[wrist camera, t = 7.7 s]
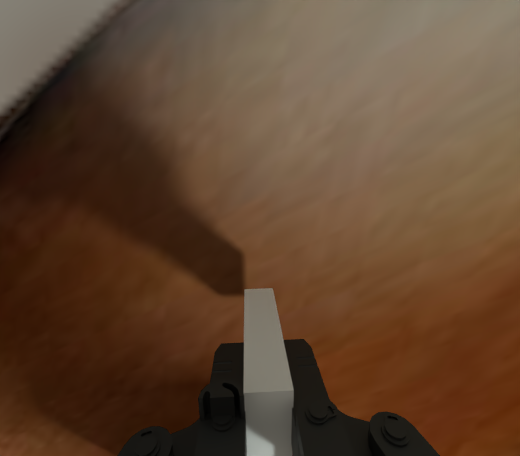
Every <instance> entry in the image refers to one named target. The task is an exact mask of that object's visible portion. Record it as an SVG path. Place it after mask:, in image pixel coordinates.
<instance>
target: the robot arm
mask: <svg viewBox="0 0 520 456" xmlns="http://www.w3.org/2000/svg"><path fill="white" fill-rule="evenodd" d="M198 402H199V413H200V418H199V419H198V420H197V421H196V422H195V423H194V424H192V425H191V426H189V427H187V428H185V429H183V430H180V431H178V432H175V433H172V434H170V433H169V432H168V430H167V429H165V428H162V427H160V426H152V427H148V428H145V429H143V430H141V431H139V432H138V433H136V434H135V435H133V436H132V437H131V438H130V439H129V441H128V442H127V443H126V444H125V445H124V447H123V448H122V450H121V451H120V453H119V454H118V456H292V451H293V456H440V455H439V454H438V453H437V452H436V451H435V450H434V449H433V447H432V446H431V445H430V444H429V443H428V442H427V441H426V440H425V438H424V437H423V436H422V435H421V434H420V433H419V432H418V430H417V429H416V428H415V427H414V426H413V425H412V424H411V423H409V422H408V421H407V420H406V419H405V418H403V417H401V416H399V415H397V414H394V413H390V412H378V413H377V414H375V415H374V416H372V418H371V420H370V422H368V421H364V420H360V419H356V418H353V417H350V416H347V415H345V414H343V413H342V412H340V411H339V410H338V409H337V407H336V406H335V405H334V404H333V403H332V402H331V401H330V399H329V397H328V394H327V391H326V389H325V386H324V383H323V380H322V377H321V374H320V371H319V368H318V366H317V363H316V360H315V358H314V354H313V351H312V348H311V346H310V345H309V344H308V343H307V342H306V341H305V340H304V339H295V340H283V336H282V331H281V326H280V321H279V316H278V312H277V307H276V302H275V297H274V292H273V288H267V289H245V294H244V343H225V344H221V345H220V346H219V347H218V349H217V350H216V352H215V355H214V361H213V367H212V374H211V380H210V384H208V385H207V386H206V387H205V388H204V389H203V390H202V391H201V393H200V395H199V398H198Z"/></svg>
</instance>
